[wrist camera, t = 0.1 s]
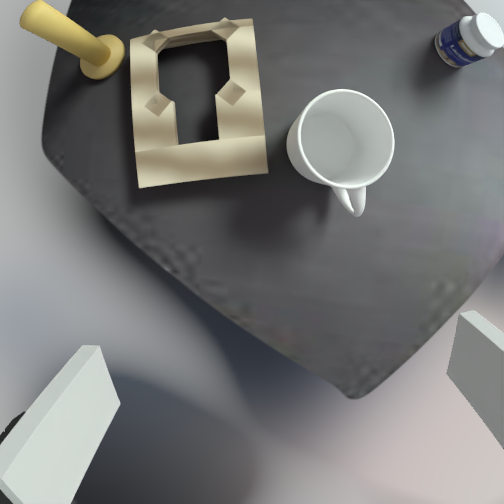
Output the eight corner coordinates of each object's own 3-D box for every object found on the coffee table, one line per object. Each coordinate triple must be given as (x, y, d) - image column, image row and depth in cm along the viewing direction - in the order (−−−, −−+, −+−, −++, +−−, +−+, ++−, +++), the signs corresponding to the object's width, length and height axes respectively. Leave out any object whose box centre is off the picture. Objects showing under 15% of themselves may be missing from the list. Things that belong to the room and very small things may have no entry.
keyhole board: (139, 44, 32) (130, 35, 29) (252, 25, 31) (251, 14, 28) (148, 186, 36) (139, 188, 33) (267, 172, 36) (268, 173, 33)
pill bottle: (433, 60, 31) (474, 38, 22) (432, 26, 30) (469, 0, 20) (466, 74, 31) (509, 59, 22) (464, 41, 30) (504, 21, 20)
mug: (307, 220, 37) (326, 240, 27) (275, 121, 34) (282, 102, 24) (373, 199, 36) (414, 211, 26) (344, 103, 33) (376, 80, 23)
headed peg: (84, 45, 31) (12, 2, 16) (125, 31, 31) (63, -25, 15) (83, 85, 33) (3, 54, 17) (125, 72, 33) (55, 28, 17)
